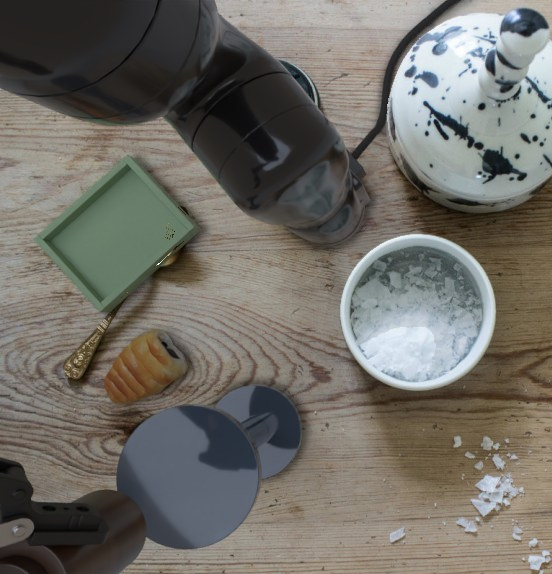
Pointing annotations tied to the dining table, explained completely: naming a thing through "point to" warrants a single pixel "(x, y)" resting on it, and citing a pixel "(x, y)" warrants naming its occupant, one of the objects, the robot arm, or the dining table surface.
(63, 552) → the pepper mill
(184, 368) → the pastry
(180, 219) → the tray
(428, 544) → the dining table surface
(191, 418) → the stand
